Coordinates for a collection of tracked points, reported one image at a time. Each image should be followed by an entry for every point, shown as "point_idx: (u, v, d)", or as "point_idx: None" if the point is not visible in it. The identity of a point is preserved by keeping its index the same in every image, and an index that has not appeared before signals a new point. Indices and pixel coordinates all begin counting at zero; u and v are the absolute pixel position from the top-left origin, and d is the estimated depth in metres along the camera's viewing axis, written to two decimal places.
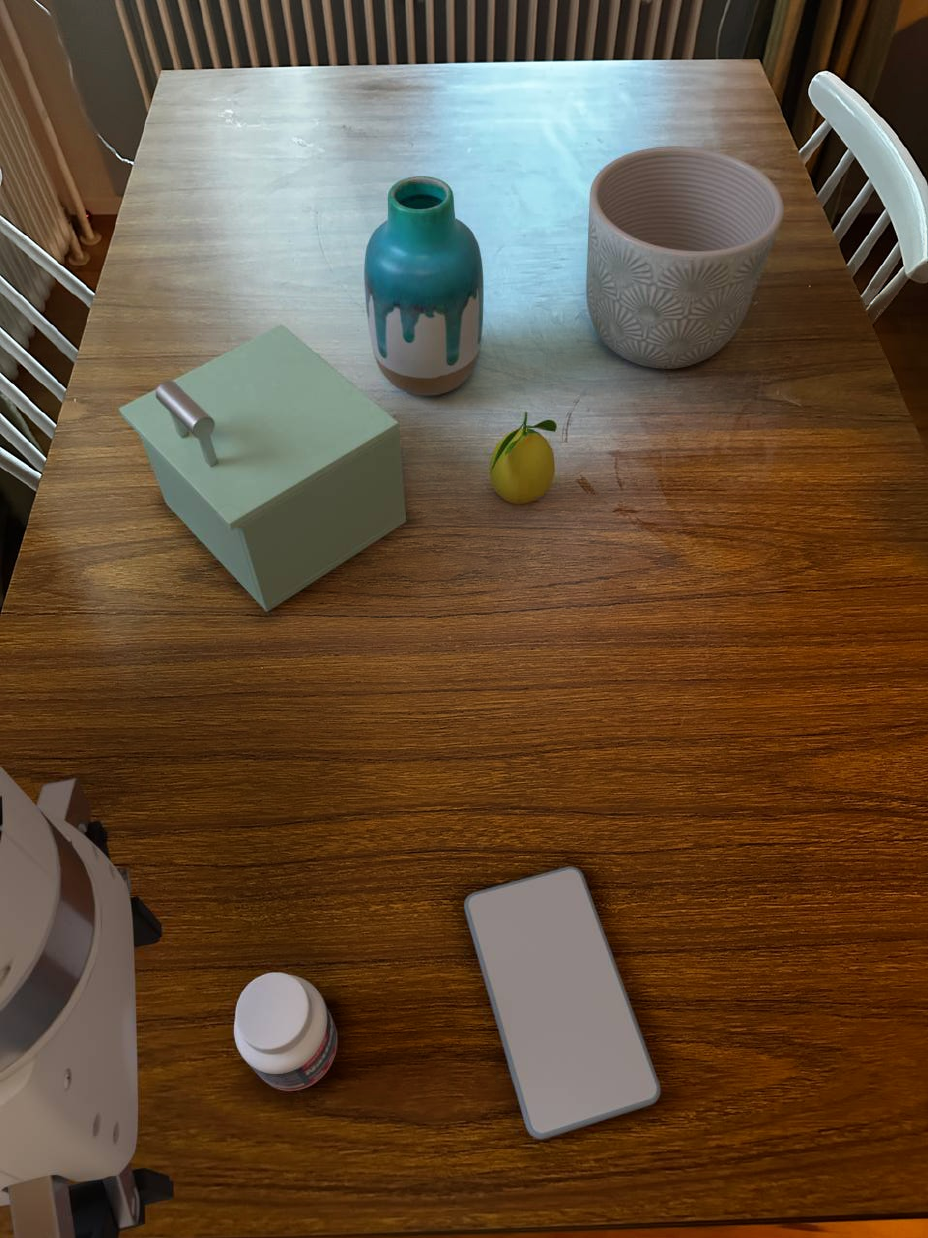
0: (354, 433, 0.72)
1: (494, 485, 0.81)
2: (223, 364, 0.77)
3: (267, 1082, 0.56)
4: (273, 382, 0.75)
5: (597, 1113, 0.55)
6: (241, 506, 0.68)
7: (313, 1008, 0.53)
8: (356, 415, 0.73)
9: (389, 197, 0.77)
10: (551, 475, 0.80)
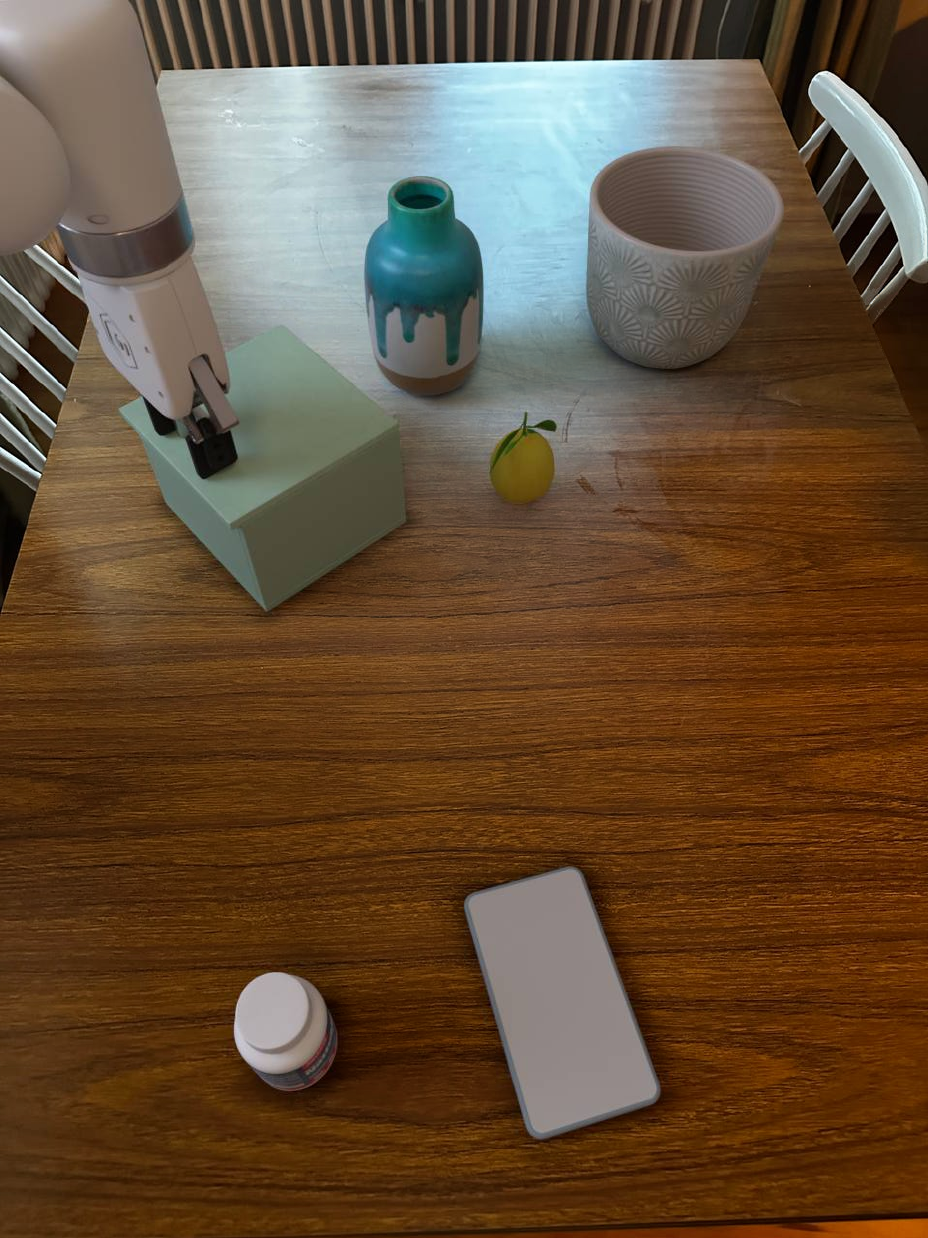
0: (354, 433, 0.72)
1: (494, 485, 0.81)
2: None
3: (267, 1082, 0.56)
4: (273, 382, 0.75)
5: (597, 1113, 0.55)
6: (241, 506, 0.68)
7: (313, 1008, 0.53)
8: (356, 415, 0.73)
9: (389, 197, 0.77)
10: (551, 475, 0.80)
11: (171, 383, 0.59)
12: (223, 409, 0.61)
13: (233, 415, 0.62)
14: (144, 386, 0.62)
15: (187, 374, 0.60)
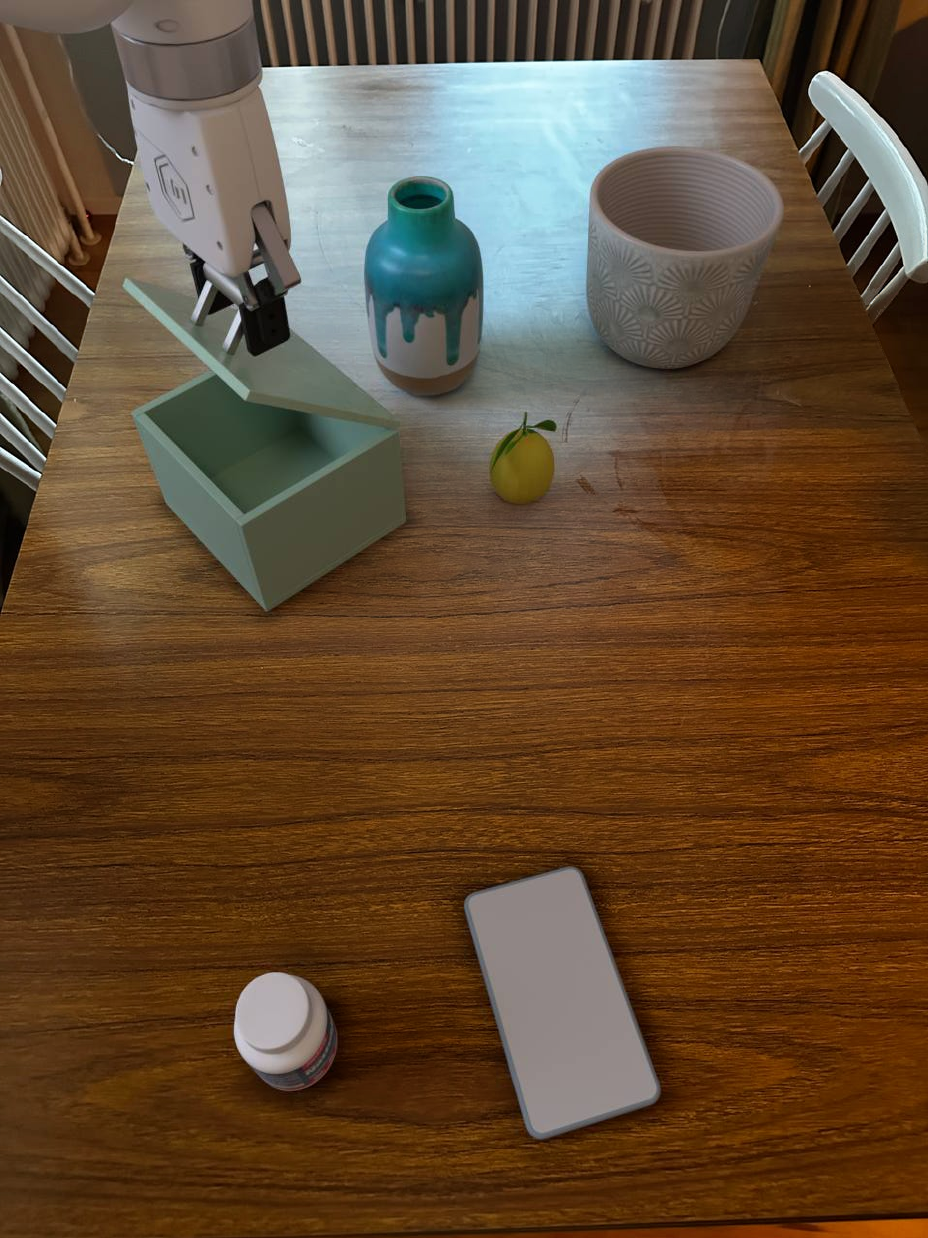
0: (362, 406, 0.71)
1: (494, 485, 0.81)
2: (232, 312, 0.74)
3: (267, 1082, 0.56)
4: (281, 345, 0.73)
5: (597, 1113, 0.55)
6: (261, 387, 0.62)
7: (313, 1008, 0.53)
8: (362, 399, 0.72)
9: (389, 197, 0.77)
10: (551, 475, 0.80)
11: (232, 230, 0.55)
12: (285, 264, 0.57)
13: (295, 271, 0.58)
14: (200, 240, 0.58)
15: (249, 221, 0.56)
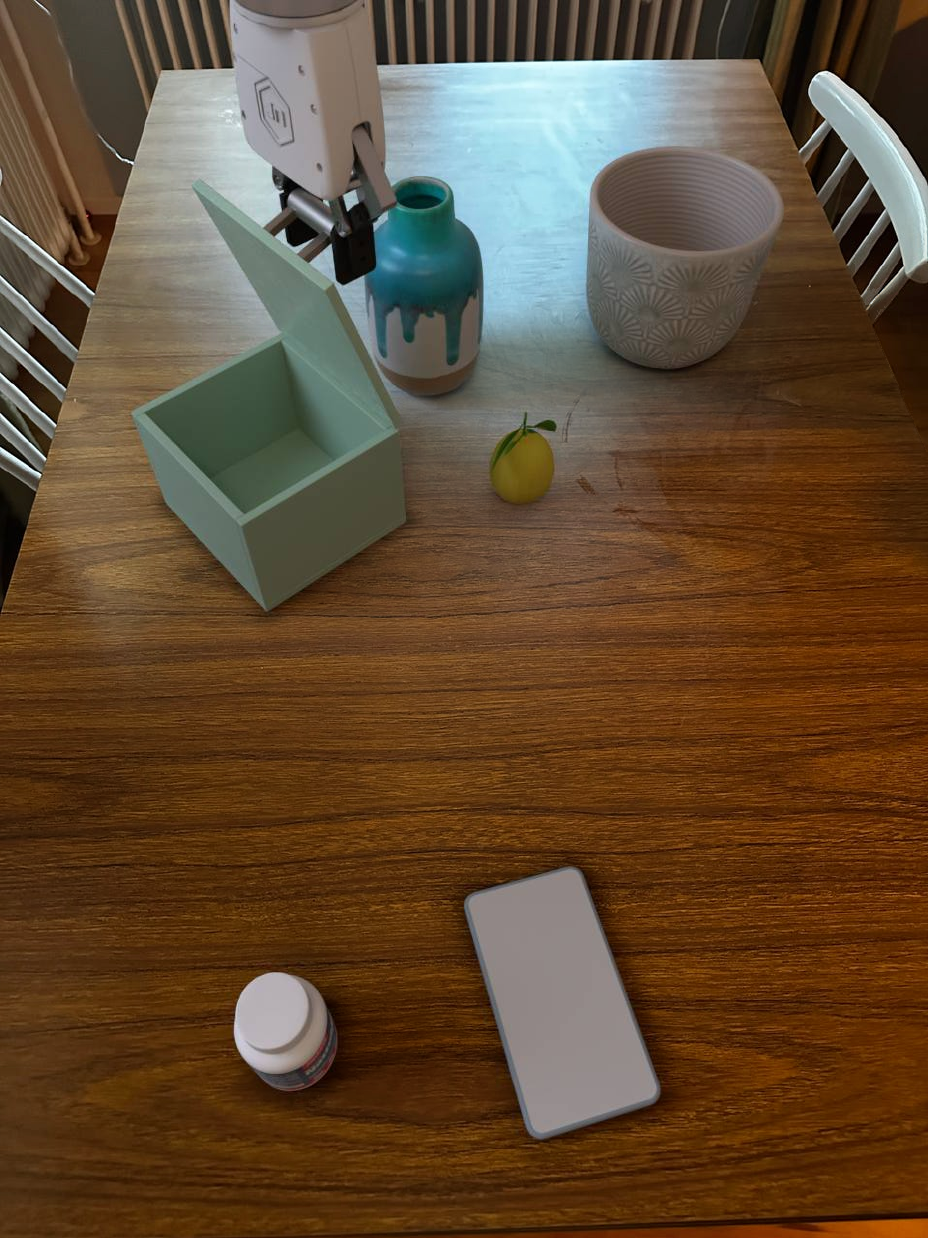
0: None
1: (494, 485, 0.81)
2: None
3: (267, 1082, 0.56)
4: None
5: (597, 1113, 0.55)
6: None
7: (313, 1008, 0.53)
8: None
9: None
10: (551, 475, 0.80)
11: (333, 151, 0.57)
12: (382, 185, 0.59)
13: (392, 193, 0.59)
14: (297, 164, 0.59)
15: (349, 142, 0.57)
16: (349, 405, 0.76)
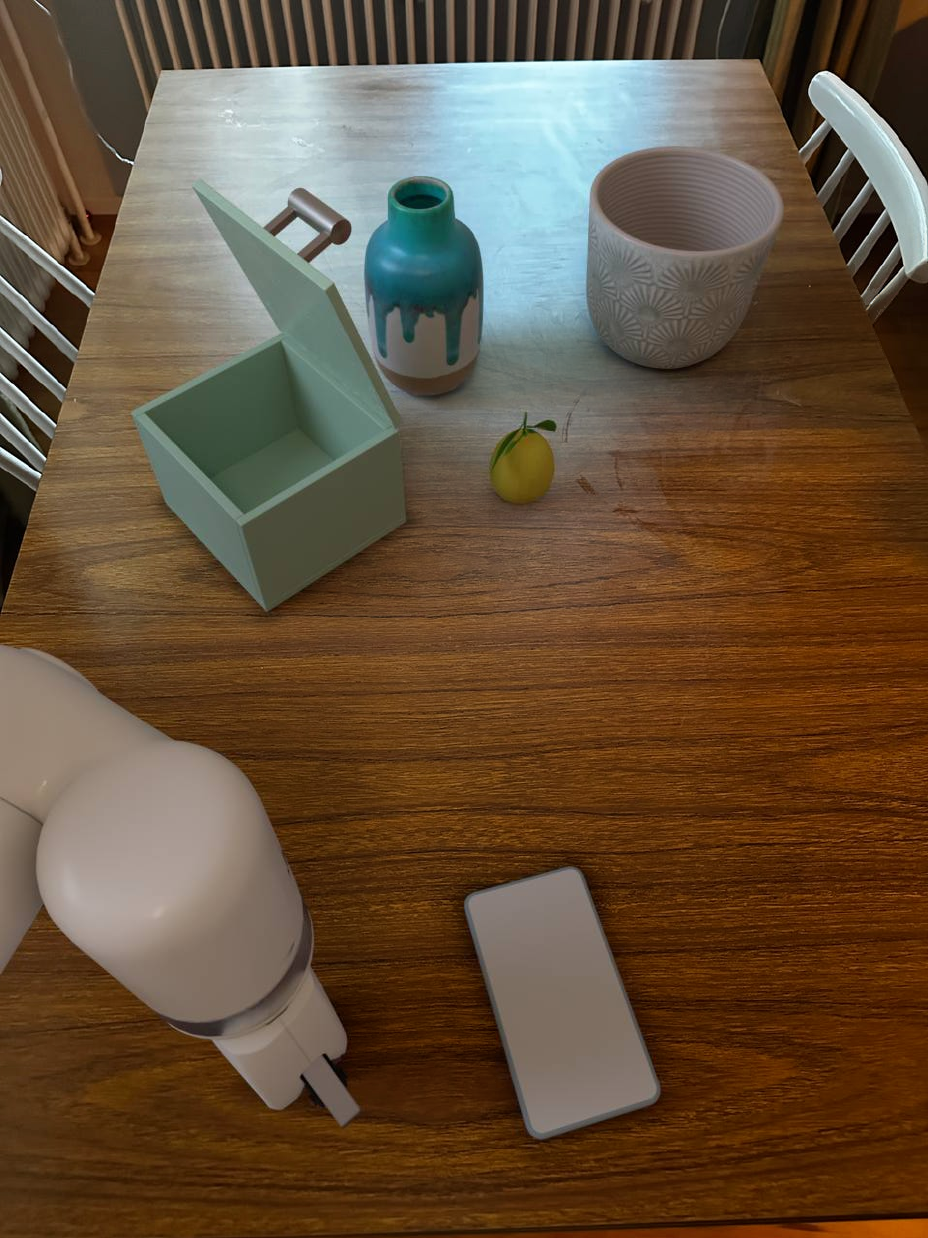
0: None
1: (494, 485, 0.81)
2: None
3: None
4: None
5: (597, 1113, 0.55)
6: None
7: None
8: None
9: (389, 197, 0.77)
10: (551, 475, 0.80)
11: (277, 1099, 0.44)
12: (342, 1105, 0.46)
13: (355, 1108, 0.46)
14: None
15: (297, 1082, 0.44)
16: (349, 405, 0.76)
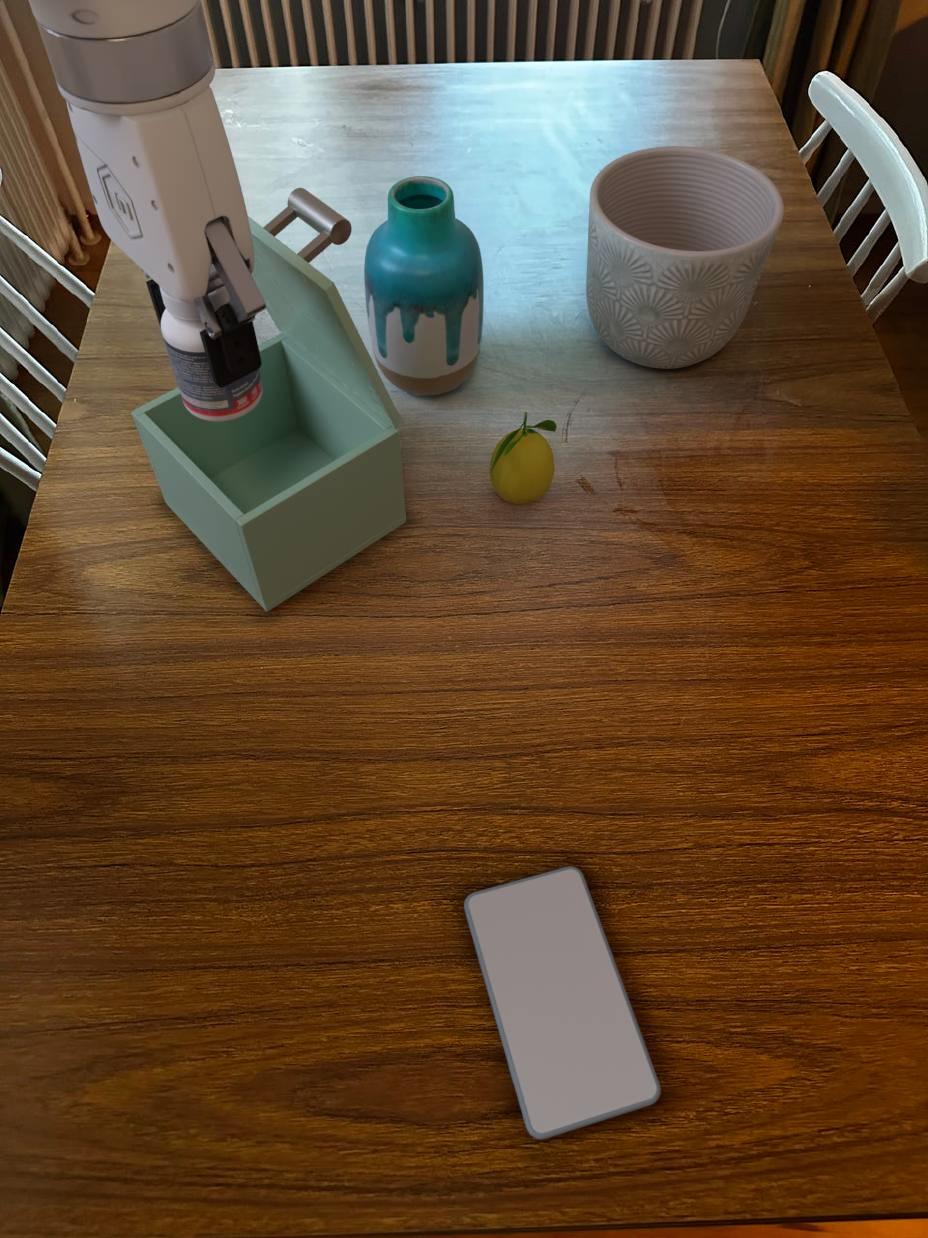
0: None
1: (494, 485, 0.81)
2: None
3: (194, 404, 0.61)
4: None
5: (597, 1113, 0.55)
6: None
7: None
8: None
9: (389, 197, 0.77)
10: (551, 475, 0.80)
11: (183, 251, 0.48)
12: (246, 287, 0.50)
13: (258, 295, 0.51)
14: (150, 260, 0.51)
15: (203, 240, 0.49)
16: (349, 405, 0.76)
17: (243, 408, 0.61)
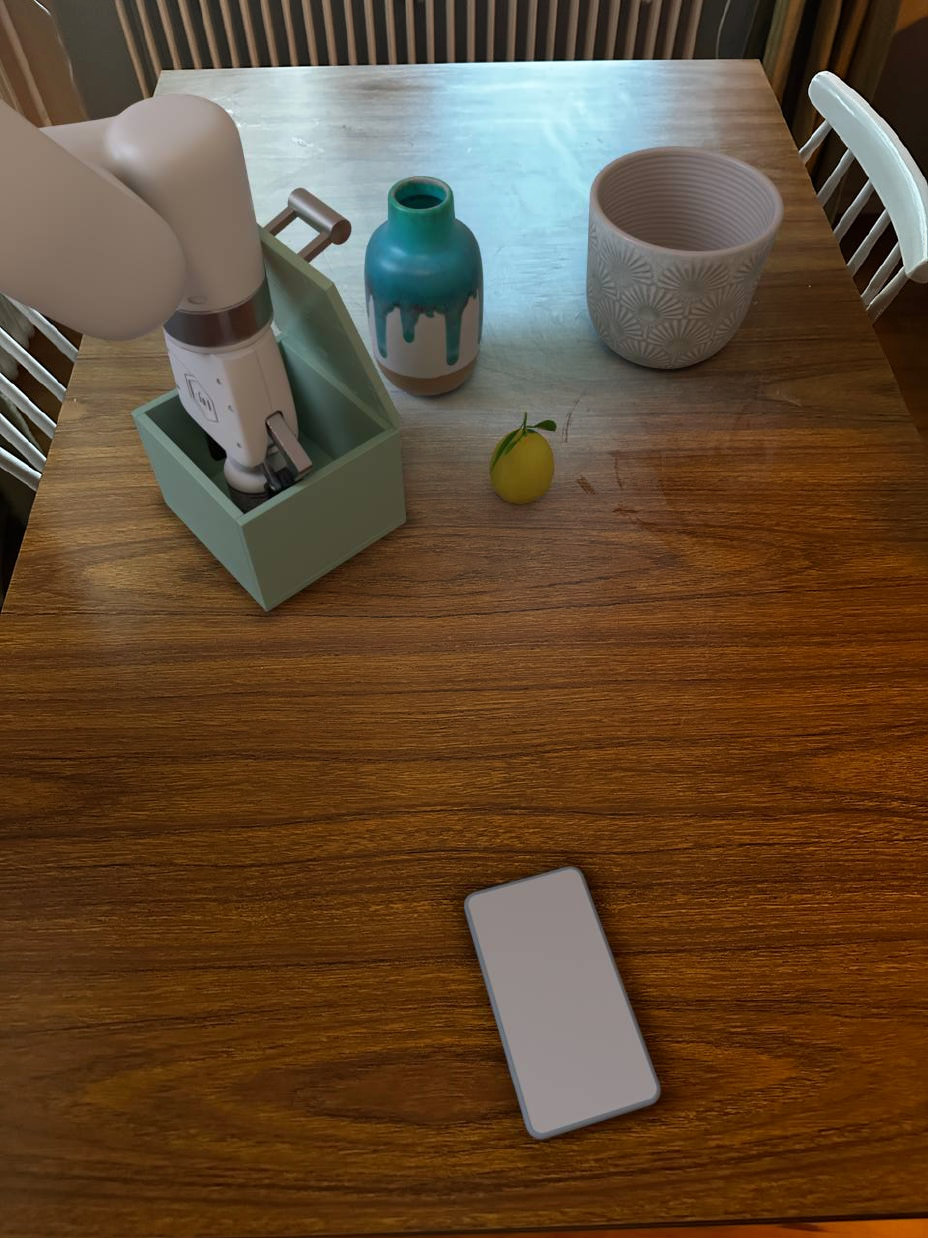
0: None
1: (494, 485, 0.81)
2: None
3: None
4: None
5: (597, 1113, 0.55)
6: None
7: (279, 454, 0.77)
8: None
9: (389, 197, 0.77)
10: (551, 475, 0.80)
11: (250, 436, 0.67)
12: (297, 453, 0.68)
13: (306, 458, 0.68)
14: (222, 437, 0.70)
15: (263, 428, 0.67)
16: (349, 405, 0.76)
17: None
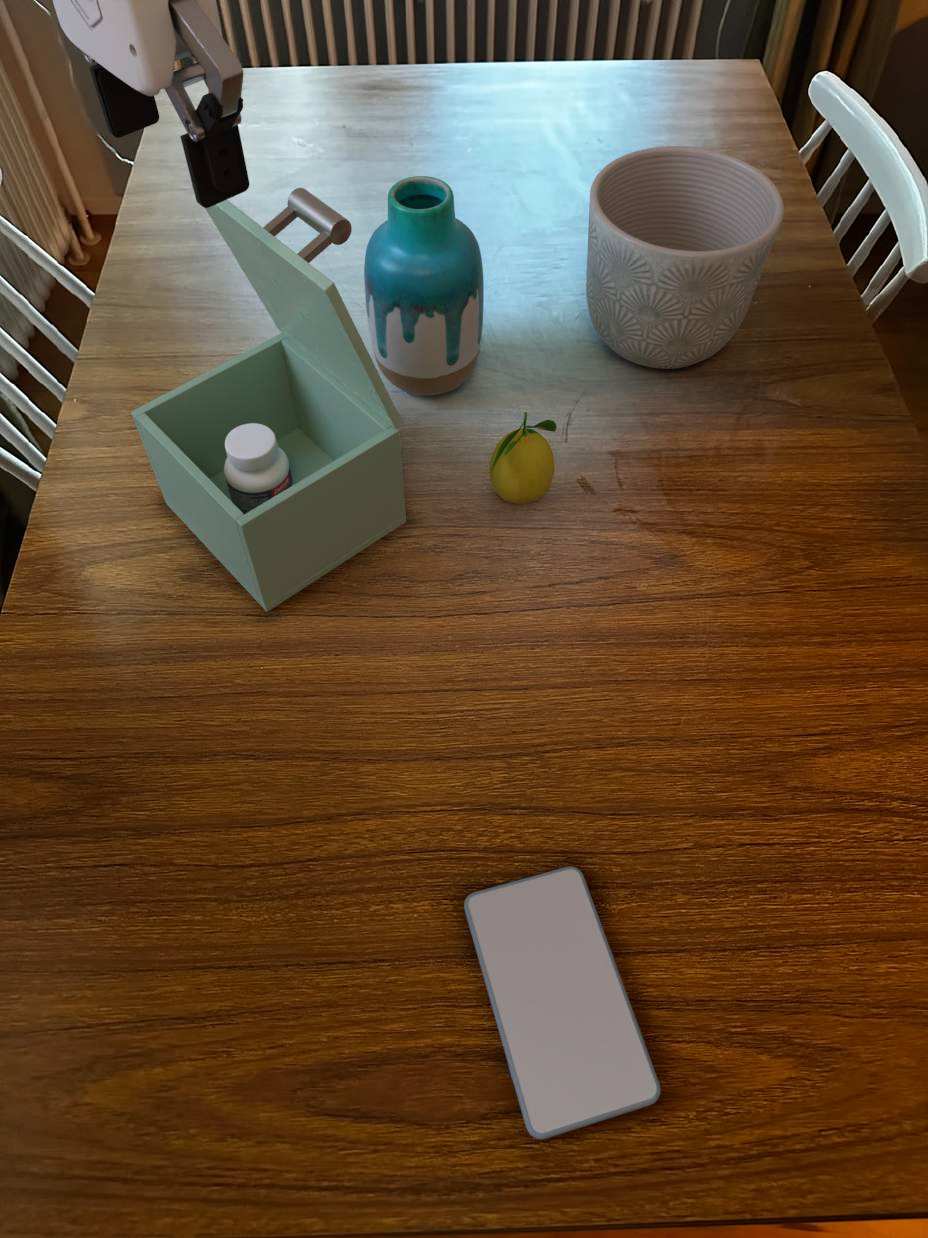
0: None
1: (494, 485, 0.81)
2: None
3: None
4: None
5: (597, 1113, 0.55)
6: None
7: (279, 454, 0.77)
8: None
9: (389, 197, 0.77)
10: (551, 475, 0.80)
11: (146, 26, 0.45)
12: (218, 48, 0.45)
13: (232, 56, 0.46)
14: (111, 49, 0.48)
15: (166, 16, 0.45)
16: (349, 405, 0.76)
17: None
